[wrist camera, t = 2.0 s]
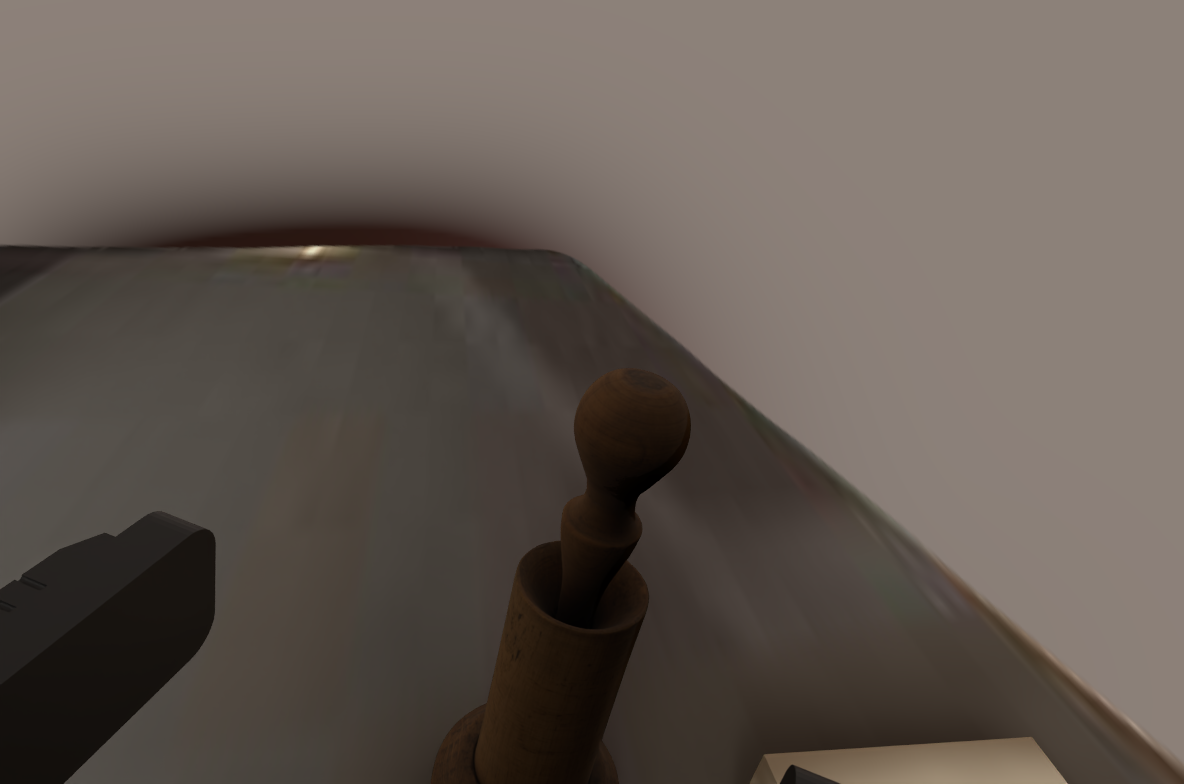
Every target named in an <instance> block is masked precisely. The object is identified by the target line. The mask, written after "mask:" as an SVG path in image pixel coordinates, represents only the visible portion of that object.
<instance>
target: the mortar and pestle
mask: <svg viewBox="0 0 1184 784" xmlns="http://www.w3.org/2000/svg"><path fill="white" fill-rule="evenodd" d="M690 430H691V422H690V414H689V410H688V407H687V404H686V401H685V399H684V398H683V396H682V394H681V393H680V391H679V390H678V389H677V388H676V387H675V386H674V385H673V384H672V383H670V382H669V381H667V380H666V379H664V378H663V377H661V376H659V375H657V374H654V373H651V372H648V371H645V370H640V369H634V368H624V369H617V370H614V371H611V372H609V373H607V374H605V375H603V376H602V377H600V378H599V379H597V380H596V381H595V382H594V383H593V384H592V385H591V386H590V387H589V388H588V390H587V391H586V392H585V394H584V395H583V397H582V399H581V401H580V403H579V405H578V408H577V411H576V415H575V420H574V434H575V441H576V445H577V448H578V452H579V455H580V458H581V461H582V464H583V467H584V470H585V473H586V476H587V489H586V492H585V494H584V495H581V496H577V497H575V498H573V499H571V500H570V501H569V502H568V503H567V504H566V505H565V507H564V509H563V513H562V520H561V541H554V542H548V543H544V544H541V545H539V546H537V547H535V548H533V549H532V550H530V551H529V552H528V553H526V554H525V555H524V557H523V558H522V559H521V560H520V562H519V564H518V567H517V570H516V574H515V578H514V583H513V588H512V592H511V597H510V602H509V606H508V611H507V616H506V620H505V625H504V630H503V634H502V639H501V643H500V648H499V653H498V657H497V662H496V666H495V671H494V675H493V679H492V684H491V688H490V693H489V697H488V701H487V703H486V704H484V705H482V706H480V707H478V708H476V709H474V710H472V711H471V712H469V713H468V714H467V715H465V716H464V717H463V718H462V719H461V720H459V721H458V722H457V723H456V724H455V726H454V727H453V728H452V729H451V730H450V732H449V733H448V734H447V736H446V737H445V739H444V741H443V743H442V745H441V747H440V749H439V751H438V754H437V757H436V760H435V764H434V768H433V773H432V778H431V784H619V781H618V776H617V772H616V768H615V765H614V762H613V760H612V757H611V755H610V753H609V752H608V750H607V748H606V746H605V745H604V743H603V742H602V737H603V734H604V731H605V728H606V725H607V722H608V719H609V716H610V713H611V710H612V707H613V704H614V701H615V698H616V695H617V692H618V690H619V687H620V684H621V681H622V678H623V675H624V672H625V669H626V666H627V663H628V660H629V658H630V655H631V652H632V649H633V647H634V644H635V641H636V639H637V636H638V633H639V630H640V628H641V625H642V622H643V619H644V617H645V614H646V611H647V608H648V603H649V593H648V589H647V585H646V583H645V581H644V579H643V577H642V576H641V574H640V573H639V572H638V571H637V570H636V568H635V567H634V566H633V565H631V564H630V563H629V562H628V561H627V559H628V558H629V556H630V555H631V553H632V551H633V550H634V548H635V546H636V544H637V542H638V541H639V539H640V537H641V534H642V523H641V521H640V519H639V517H638V515H637V514H636V512H635V505H636V501H637V499H638V497H639V495H640V494H641V493H643V492H644V491H646V490H647V489H649V488H650V487H651V486H653V485H654V484H655V483H656V482H658V481H659V480H660V479H661V478H663V477H664V476H665V475H666V474H668V473H669V472H670V471H671V470H672V469H673V468H674V467H675V466H676V465H677V464H678V462H679V461H680V460H681V458H682V457H683V455H684V453H685V451H686V448H687V445H688V442H689V438H690Z"/></svg>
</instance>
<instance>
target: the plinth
mask: <svg viewBox="0 0 1184 784" xmlns="http://www.w3.org/2000/svg"><path fill="white" fill-rule="evenodd" d="M790 765H795V766H798V767H800V768H803V769H805V770H808V771H810V772H813V773H815V774H818V775H820V776H823V777H825V778H828V779H830V780H833V781H835V782H838V783H840V784H1068V783H1067V782H1066V781H1065V780H1064V778H1063V777H1062V776H1061V774H1060V773H1059V772H1058V770H1057V769H1056V768H1055V767H1054V765H1053V764H1052V763H1051V761H1050V760H1049V759H1048V758H1047V756H1046V755H1045V754H1044V752H1043V751H1042V750H1041V748H1040V747H1039V746H1038V745H1037V743H1036V742H1035V741H1034V739H1033V738H1032V737H1024V738H1009V739H993V740H978V741H962V742H947V743H932V744H916V745H901V746H885V747H870V748H854V749H839V750H824V751H808V752H793V753H777V754H764V755H763V757H762V759H761V761H760V763H759V765H758V767H757V769H756V771H755V773H754V775H753V777H752V779H751V781H750V783H749V784H780V782H781V780H782V778H783V776H784V774H785V772H786V770H787V769H788V768H789V766H790Z"/></svg>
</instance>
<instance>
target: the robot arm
mask: <svg viewBox="0 0 1184 784" xmlns="http://www.w3.org/2000/svg"><path fill="white" fill-rule="evenodd" d="M215 548H216V544H215V537H214V535H213V533H212V532H211V531H210V530H207V529H205V528H202V527H200V526H197V525H195V524H192V523H190V522H187V521H185V520H182V519H180V518H177V517H175V516H172V515H170V514H167V513H165V512H162V511H157V512H152V513H150V514H148V515H146V516H145V517H143V518H142V519H140V520H139V521H137V522H136V523H134V524H133V525H132V526H130V527H129V528H127V529H126V530H125V531H123V532H122V533H120V534H119V535H118V536H116V537H114V536H112V535H109V534H107V533H103V534H100V535H98V536H95V537H92V538H89V539H87V540H84V541H81V542H78V543H76V544H73V545H70V546H67V547H65V548H62V549H59V550H58V551H56V552H55V553H53V554H52V555H51V556H49V557H48V558H46V559H45V560H43V561H42V562H40V563H39V564H37V565H36V566H34V567H33V568H31V569H30V570H28V571H27V572H25V573H24V574H22V577H21V579H20V580H19V581H16V580H14V581H12V582H11V583H9V584H8V585H6V586H5V587H3V588H2V589H0V784H64V783H65V782H66V781H67V780H68V779H69V778H70V777H71V776H72V775H73V774H74V773H75V772H76V771H77V770H78V769H79V768H80V767H81V766H82V765H83V764H84V763H85V762H86V761H87V760H88V759H89V758H90V757H91V756H92V755H93V754H94V753H95V752H96V751H97V750H98V749H99V748H100V747H101V746H103V745H104V744H105V743H106V742H107V741H108V740H109V739H110V738H111V737H112V736H113V735H114V734H115V733H116V732H117V731H118V730H119V729H120V728H121V727H122V726H123V725H124V724H125V723H126V722H127V721H128V720H129V719H130V718H131V717H132V716H133V715H134V714H135V713H136V712H137V711H138V710H139V709H140V708H141V707H142V706H143V705H144V704H146V703H147V702H148V701H149V700H150V699H151V698H152V697H153V696H154V695H155V694H156V693H157V692H158V691H159V690H160V689H161V688H162V687H163V686H164V685H165V684H166V683H167V682H168V681H169V680H170V679H171V678H172V677H173V676H174V675H175V674H176V673H177V672H178V671H179V670H180V669H181V668H182V667H183V666H184V665H185V664H186V663H188V662H189V661H190V660H191V658H192V657H193V656H194V655H195V654H196V653H197V652H198V650H199V649H200V647H201V646H202V644H203V643H204V641H205V639H206V638H207V635H208V633H209V631H210V629H211V626H212V623H213V620H214V614H215ZM780 784H840V783H838V782H835V781H833V780H830V779H828V778H825V777H823V776H820V775H818V774H815V773H813V772H810V771H808V770H805V769H803V768H800V767H798V766H795V765H790V766H789V768H788V769H787V770H786V772H785V774H784V776H783V778H782V780H781V782H780Z"/></svg>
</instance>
